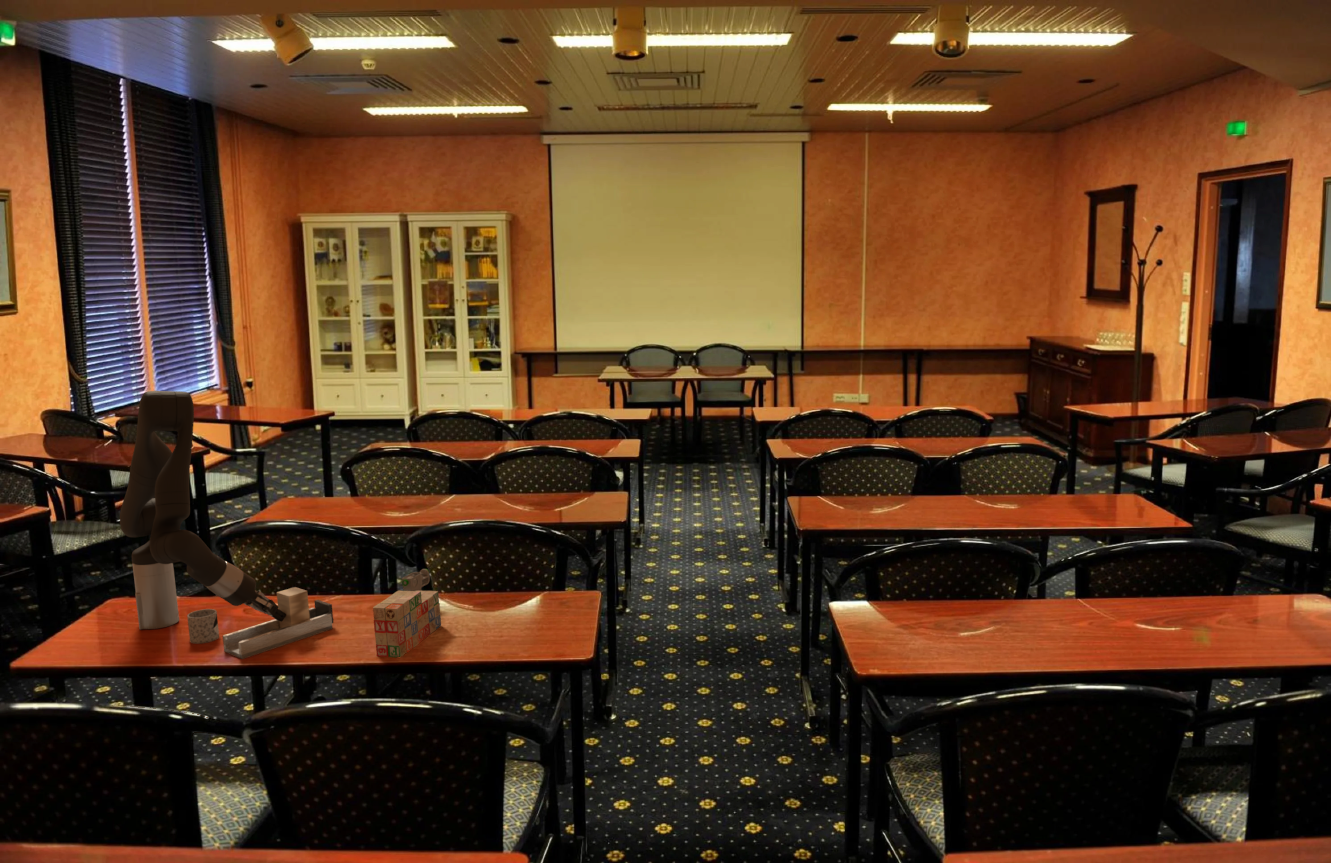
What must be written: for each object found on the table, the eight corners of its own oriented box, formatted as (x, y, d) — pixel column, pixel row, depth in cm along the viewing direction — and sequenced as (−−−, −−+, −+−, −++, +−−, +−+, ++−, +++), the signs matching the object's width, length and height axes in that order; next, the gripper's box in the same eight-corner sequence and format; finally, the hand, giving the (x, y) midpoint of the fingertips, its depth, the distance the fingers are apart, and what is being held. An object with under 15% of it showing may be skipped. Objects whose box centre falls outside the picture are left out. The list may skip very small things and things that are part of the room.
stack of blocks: (419, 624, 248) (415, 578, 247) (441, 626, 247) (438, 579, 245) (376, 656, 228) (372, 606, 226) (400, 658, 226) (396, 607, 225)
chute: (242, 659, 229) (239, 634, 228) (224, 651, 234) (221, 627, 233) (336, 627, 248) (334, 605, 247) (317, 621, 253) (315, 598, 252)
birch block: (292, 635, 240) (288, 596, 238) (280, 630, 243) (276, 592, 242) (310, 629, 244) (307, 590, 242) (298, 624, 247) (295, 586, 246)
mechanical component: (433, 603, 264) (431, 568, 262) (412, 616, 254) (409, 579, 253) (424, 602, 265) (421, 567, 263) (402, 615, 255) (399, 578, 254)
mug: (222, 639, 242) (219, 613, 241) (193, 645, 238) (190, 620, 237) (212, 628, 250) (210, 603, 249) (184, 634, 246) (181, 609, 245)
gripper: (253, 574, 227) (306, 609, 238) (225, 564, 235) (277, 599, 246) (234, 602, 223) (288, 636, 235) (206, 591, 232) (259, 625, 243)
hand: (282, 617), depth 241 cm, fingers closed
